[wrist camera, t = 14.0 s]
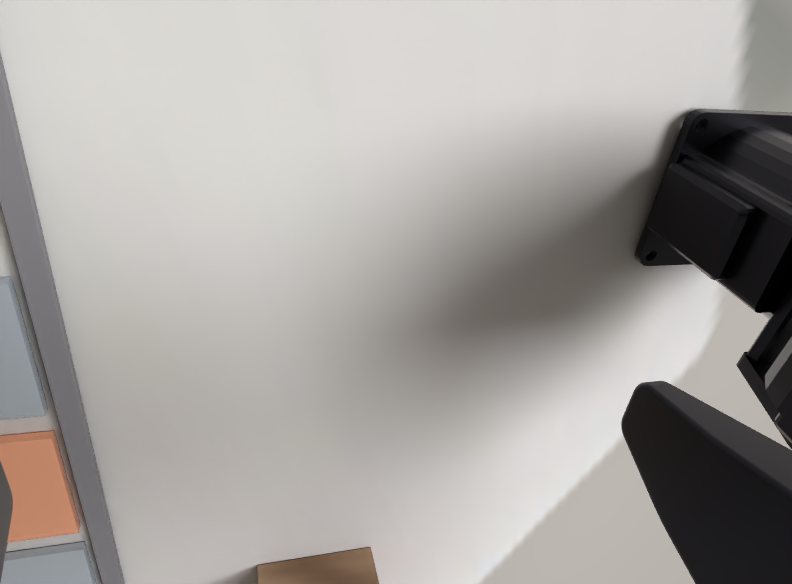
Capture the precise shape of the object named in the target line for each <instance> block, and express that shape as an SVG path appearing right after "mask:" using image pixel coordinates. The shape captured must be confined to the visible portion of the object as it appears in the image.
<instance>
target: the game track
mask: <svg viewBox="0 0 792 584" xmlns="http://www.w3.org/2000/svg"><path fill="white" fill-rule="evenodd" d="M0 203H1V207H2V210H3V214H4V218H5V222H6V225H7V229H8V233H9V237H10V240H11V244H12V248H13V251H14V255H15V259H16V263H17V266H18V270H19V274H20V278H21V281H22V285H23V289H24V293H25V296H26V300H27V304H28V307H29V311H30V315H31V319H32V322H33V326H34V330H35V334H36V337H37V341H38V345H39V348H40V352H41V356H42V360H43V363H44V367H45V371H46V375H47V378H48V382H49V386H50V389H51V393H52V397H53V401H54V404H55V408H56V412H57V416H58V419H59V423H60V427H61V431H62V434H63V438H64V442H65V445H66V449H67V453H68V457H69V460H70V464H71V468H72V472H73V475H74V479H75V483H76V486H77V490H78V494H79V498H80V501H81V505H82V509H83V513H84V516H85V520H86V524H87V527H88V531H89V535H90V539H91V542H92V546H93V550H94V554H95V557H96V561H97V565H98V569H99V572H100V576H101V580H102V583H103V584H125V583H124V579H123V575H122V571H121V566H120V562H119V558H118V554H117V549H116V545H115V541H114V536H113V532H112V528H111V524H110V519H109V515H108V511H107V506H106V502H105V498H104V494H103V489H102V485H101V481H100V477H99V472H98V468H97V464H96V459H95V455H94V451H93V447H92V442H91V438H90V434H89V429H88V425H87V421H86V417H85V412H84V408H83V404H82V400H81V395H80V391H79V387H78V382H77V378H76V374H75V370H74V365H73V361H72V357H71V352H70V348H69V344H68V340H67V335H66V331H65V327H64V323H63V318H62V314H61V310H60V305H59V301H58V297H57V293H56V288H55V284H54V280H53V275H52V271H51V267H50V263H49V258H48V254H47V250H46V245H45V241H44V237H43V233H42V228H41V224H40V220H39V216H38V211H37V207H36V203H35V198H34V194H33V190H32V186H31V181H30V177H29V173H28V168H27V164H26V160H25V156H24V151H23V147H22V143H21V139H20V134H19V130H18V126H17V121H16V117H15V113H14V109H13V104H12V100H11V96H10V91H9V87H8V83H7V79H6V74H5V70H4V66H3V62H2V57H1V53H0ZM46 411H47V404H46V401H45V397H44V393H43V390H42V386H41V383H40V379H39V375H38V372H37V368H36V365H35V361H34V357H33V354H32V350H31V347H30V343H29V339H28V336H27V332H26V329H25V325H24V321H23V318H22V314H21V311H20V307H19V303H18V300H17V296H16V293H15V289H14V285H13V282H12V278H11V277H0V420H2V419H13V418H24V417H36V416H45V415H46ZM0 461H1V463H2V466H3V469H4V472H5V475H6V477H7V480H8V483H9V486H10V488H11V491H12V496H13V511H12V518H11V524H10V530H9V536H8V542H15V541H22V540H30V539H37V538H44V537H52V536H59V535H66V534H74V533H78V532H79V528H80V523H79V519H78V516H77V512H76V509H75V505H74V501H73V498H72V494H71V491H70V487H69V483H68V480H67V476H66V473H65V469H64V465H63V462H62V458H61V455H60V451H59V447H58V444H57V440H56V437H55V433H54V431H46V432H36V433H25V434H15V435H4V436H0ZM8 542H7V543H8ZM0 584H96V581H95V577H94V573H93V570H92V566H91V563H90V559H89V555H88V552H87V548H86V545H85V542H79V543H72V544H65V545H57V546H50V547H43V548H36V549H29V550H22V551H15V552H8V553H6V554H5V560H4V566H3V572H2V578H1V583H0Z"/></svg>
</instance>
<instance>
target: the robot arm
mask: <svg viewBox="0 0 792 584" xmlns="http://www.w3.org/2000/svg"><path fill="white" fill-rule="evenodd" d="M700 120H701V123H700V124H699V126H698V127H696V125H697V123H698V122H699V121H700ZM648 252H650V253H649V254H648V255H647V253H648ZM635 258H636V259H637V260H638V261H639V262H640V263H641V264H643V265H645V266H659V265H685V264H693V265H694V266H696V267H697V268H698V269H699V270H701V271H702V272H703V273H704V274H706V275H707V276H708V277H709V278H711V279H713V280H716V281H717V282H719V283H720V284H721V285H722V286H724V287H725V288H726V289H727V290H729V291H730V292H731V293H732V294H734V295H735V296H736V297H737V298H739V299H740V300H741V301H743V302H744V303H745V304H746V305H748V306H749V307H750V308H751V309H753V310H754V311H755V312H757V313H762V314H764V315H765V316H766V317H767V318H769V320H768V322H767V323H766V325H765V326H764V328H763V330H762V331H761V333H760V334H759V336H758V337H757V339H756V340H755V342H754V344H753V345H752V346H751V348H750V350H749V351H748V352H744V354H743V355H742V357H741V358H740V360H739V361H738V363H737V367H738V368H739V370H740V371H741V373H742V374H743V376H744V377H745V379H746V381H747V382H748V384H749V385H750V387H751V388H752V390H753V391H754V393H755V394H756V396H757V398H758V399H759V401H760V402H761V404H762V405H763V407H764V408H765V410H766V411H767V413H768V415H769V416H770V418H771V419H772V421H773V422H774V424H775V425H776V427H777V428H778V430H779V431H780V433H781V435H782V436H783V438H784V439H785V441H786V442H787V444H788V445H789V446H790V447H791V449H792V113H787V112H763V111H741V110H718V109H696V110H694V111H692V112H690V113H689V114H688V116H687V117H686V118H685V120H684V122H683V125H682V127H681V130H680V133H679V136H678V138H677V141H676V144H675V146H674V149H673V152H672V154H671V157H670V160H669V162H668V165H667V168H666V171H665V173H664V176H663V179H662V181H661V184H660V187H659V189H658V192H657V195H656V197H655V200H654V203H653V205H652V208H651V211H650V214H649V216H648V219H647V222H646V224H645V227H644V230H643V232H642V235H641V238H640V240H639V243H638V246H637V249H636V251H635ZM621 426H622V432H623V435H624V438H625V440H626V443H627V445H628V447H629V449H630V451H631V454H632V456H633V458H634V461H635V463H636V465H637V468H638V470H639V472H640V475H641V477H642V479H643V481H644V484H645V486H646V488H647V491H648V493H649V495H650V498H651V500H652V502H653V504H654V507H655V508H656V511H657V513H658V515H659V517H660V519H661V521H662V523H663V525H664V527H665V529H666V531H667V533H668V535H669V537H670V538H671V540H672V542H673V544H674V546H675V547H676V549H677V551H678V553H679V555H680V556H681V558H682V560H683V562H684V564H685V565H686V567H687V569H688V570H689V573H690V575H691V576H692V578H693V580H694V582H695V584H792V450H790V449H788V448H786V447H784V446H782V445H781V444H779V443H777V442H775V441H773V440H772V439H770V438H768V437H766V436H764V435H762V434H761V433H759V432H757V431H755V430H753V429H751V428H750V427H747V426H746V425H744V424H742V423H740V422H739V421H737V420H735V419H733V418H731V417H729V416H728V415H726V414H724V413H722V412H720V411H718V410H717V409H715V408H713V407H711V406H709V405H708V404H706V403H704V402H702V401H700V400H698V399H697V398H695V397H693V396H691V395H689V394H687V393H686V392H684V391H682V390H680V389H678V388H677V387H675V386H673V385H671V384H669V383H667V382H664V381H655V382H645V383H641V384H639V385H638V386H637V387H636V388H635V390H634V392H633V395H632V397H631V399H630V402H629V404H628V406H627V408H626V411H625V413H624V415H623V418H622V423H621ZM12 511H13V496H12V491H11V488H10V486H9V483H8V480H7V477H6V475H5V472H4V469H3V466H2V463H1V461H0V583H1V578H2V572H3V566H4V560H5V554H6V548H7V542H8V536H9V530H10V524H11V518H12Z"/></svg>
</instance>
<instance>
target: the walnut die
mask: <svg viewBox="0 0 792 584" xmlns="http://www.w3.org/2000/svg"><path fill="white" fill-rule="evenodd" d="M257 575H258V584H379V581H378V577H377V573H376V568H375V564H374V560H373V556H372V552H371V547H368V548H362V549H356V550H350V551H344V552H337V553H331V554H325V555H319V556H312V557H306V558H300V559H294V560H288V561H281V562H275V563H269V564H263V565H257Z"/></svg>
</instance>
